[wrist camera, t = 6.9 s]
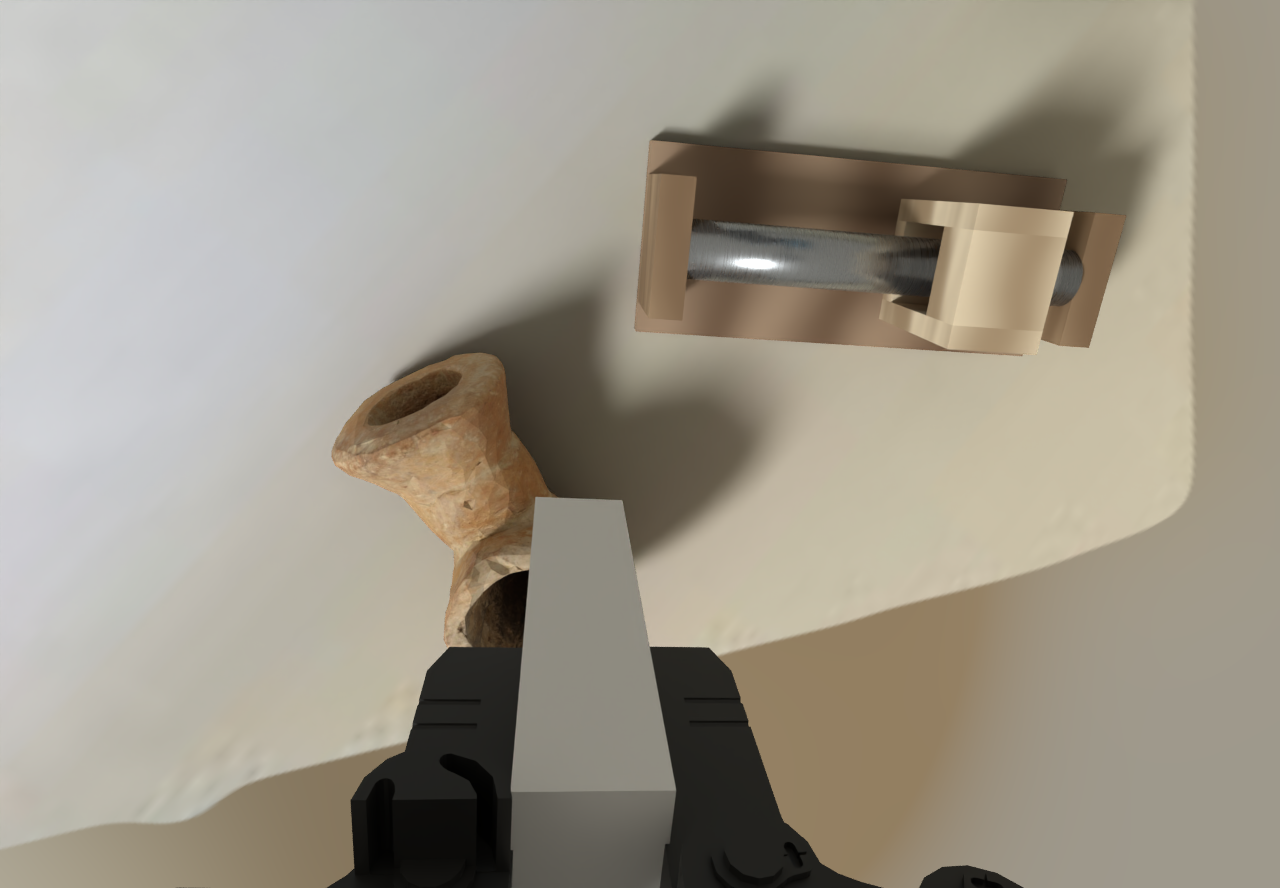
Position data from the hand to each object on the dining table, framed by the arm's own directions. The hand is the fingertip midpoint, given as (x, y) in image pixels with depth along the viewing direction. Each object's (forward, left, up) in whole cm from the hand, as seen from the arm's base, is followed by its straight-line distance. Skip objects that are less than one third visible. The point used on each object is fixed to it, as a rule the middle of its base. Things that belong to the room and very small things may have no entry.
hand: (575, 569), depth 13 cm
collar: (-4, +18, -25) cm, 31 cm away
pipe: (+10, -3, -27) cm, 29 cm away
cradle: (-4, +14, -26) cm, 30 cm away
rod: (-4, +14, -23) cm, 27 cm away
